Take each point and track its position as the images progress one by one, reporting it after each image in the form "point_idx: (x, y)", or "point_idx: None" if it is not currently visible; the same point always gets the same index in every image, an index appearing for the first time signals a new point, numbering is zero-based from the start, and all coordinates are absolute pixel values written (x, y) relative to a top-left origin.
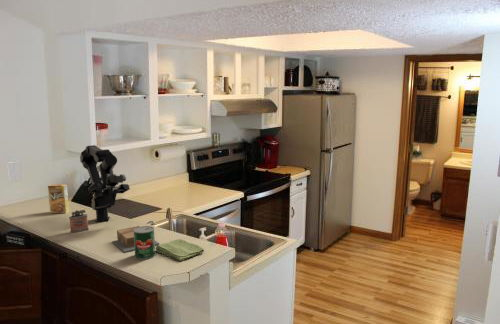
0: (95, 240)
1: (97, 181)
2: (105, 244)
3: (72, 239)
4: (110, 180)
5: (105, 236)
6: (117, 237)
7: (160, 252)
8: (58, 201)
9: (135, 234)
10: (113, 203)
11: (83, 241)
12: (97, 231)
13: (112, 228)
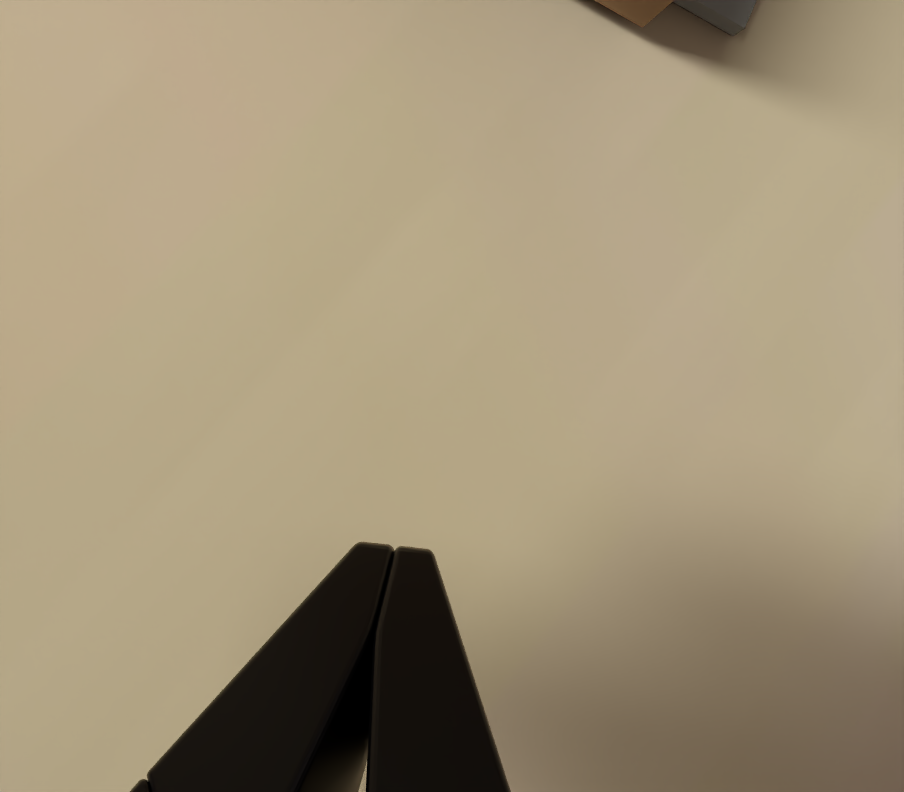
0: (779, 352)
1: None
2: (829, 76)
3: (886, 676)
4: None
5: (591, 364)
6: (658, 8)
7: None
8: None
9: None
10: (406, 571)
11: (877, 471)
12: (486, 681)
13: (247, 599)
